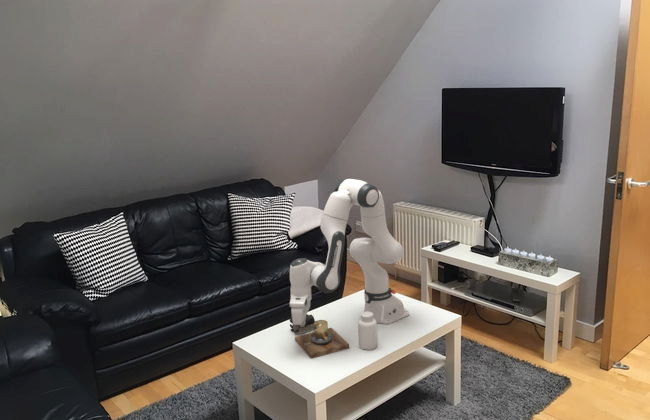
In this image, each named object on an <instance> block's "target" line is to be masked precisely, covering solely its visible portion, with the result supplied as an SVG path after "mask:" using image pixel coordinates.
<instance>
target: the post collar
mask: <svg viewBox="0 0 650 420" xmlns="http://www.w3.org/2000/svg"><path fill="white" fill-rule="evenodd" d="M331 341H332V335H331V334H330V333H329V332H328V337H327V339H326V340H324V339H318V338H316V337H315V336H314V333H313V334H312V335H311V342H312V343H313V344H315V345H326V344H329V343H330V342H331Z"/></svg>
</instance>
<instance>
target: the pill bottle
mask: <svg viewBox="0 0 650 420" xmlns="http://www.w3.org/2000/svg"><path fill="white" fill-rule="evenodd" d="M377 324H378V323H377V322H376V320H375V319H374V318H373V313H372V312H364V311H363V312H361V313H360V319H358V322H357V328H358V329H357V330H358V331H357V332H358V335H357V336H358V346H359V348H360V349H362V350H366V351H367V350H368V351H369V350H373V349H374V350H375V349H376V347H377V346H378V329H377V327H378V326H377Z"/></svg>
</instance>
